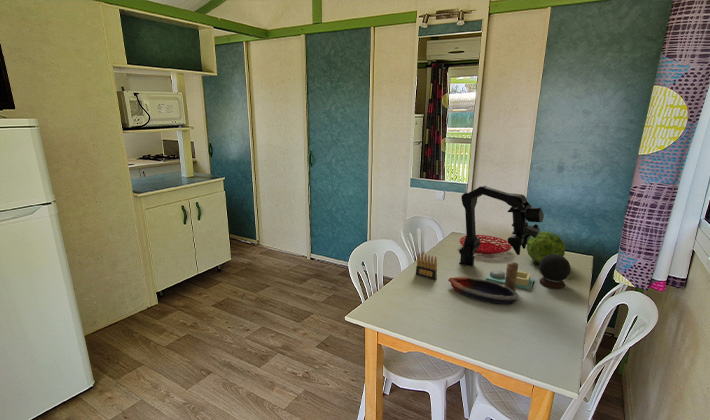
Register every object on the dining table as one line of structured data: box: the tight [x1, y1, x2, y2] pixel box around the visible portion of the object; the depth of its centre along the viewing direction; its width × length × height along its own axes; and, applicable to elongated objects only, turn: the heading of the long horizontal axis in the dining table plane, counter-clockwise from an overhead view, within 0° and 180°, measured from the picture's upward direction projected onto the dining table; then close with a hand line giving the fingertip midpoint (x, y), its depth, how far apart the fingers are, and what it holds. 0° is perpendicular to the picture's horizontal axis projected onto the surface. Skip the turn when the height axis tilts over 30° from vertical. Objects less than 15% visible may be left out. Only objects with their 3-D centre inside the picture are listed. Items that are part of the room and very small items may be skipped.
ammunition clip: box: [415, 252, 438, 281], centre depth 185 cm, size 11×2×12 cm, turn 55°
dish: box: [447, 276, 519, 305], centre depth 168 cm, size 16×31×5 cm, turn 54°
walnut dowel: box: [504, 261, 519, 292], centre depth 172 cm, size 5×5×13 cm
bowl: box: [459, 234, 513, 255], centre depth 222 cm, size 29×30×5 cm
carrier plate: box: [485, 269, 535, 291], centre depth 183 cm, size 20×12×4 cm, turn 57°
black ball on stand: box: [538, 254, 572, 290], centre depth 178 cm, size 13×13×15 cm
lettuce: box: [526, 230, 566, 265], centre depth 204 cm, size 19×23×18 cm
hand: (521, 251), depth 182 cm, fingers open, 9 cm apart
